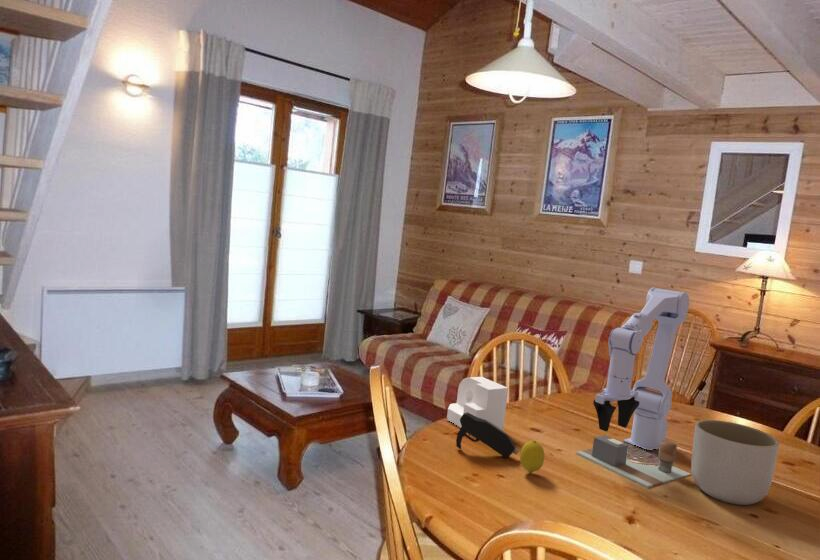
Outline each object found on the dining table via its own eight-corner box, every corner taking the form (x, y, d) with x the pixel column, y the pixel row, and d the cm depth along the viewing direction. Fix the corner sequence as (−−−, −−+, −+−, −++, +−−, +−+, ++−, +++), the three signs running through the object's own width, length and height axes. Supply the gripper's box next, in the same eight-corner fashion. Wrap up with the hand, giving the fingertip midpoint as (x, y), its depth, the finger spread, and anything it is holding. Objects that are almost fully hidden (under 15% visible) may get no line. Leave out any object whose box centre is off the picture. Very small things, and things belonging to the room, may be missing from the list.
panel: (619, 445, 164) (619, 443, 164) (690, 476, 146) (690, 473, 146) (576, 454, 153) (576, 451, 153) (647, 488, 136) (647, 486, 136)
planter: (768, 521, 125) (779, 453, 124) (681, 495, 134) (691, 431, 133) (769, 494, 140) (779, 433, 138) (690, 472, 149) (699, 414, 147)
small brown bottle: (662, 466, 149) (666, 439, 149) (675, 472, 146) (680, 445, 146) (653, 468, 147) (657, 441, 147) (667, 474, 144) (671, 447, 143)
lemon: (543, 471, 140) (547, 439, 139) (540, 480, 135) (544, 446, 134) (520, 466, 142) (524, 434, 141) (516, 474, 137) (520, 441, 136)
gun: (500, 478, 146) (522, 446, 144) (446, 441, 148) (467, 409, 146) (501, 473, 149) (523, 442, 147) (447, 437, 151) (468, 405, 149)
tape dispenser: (502, 431, 166) (508, 387, 164) (473, 435, 160) (479, 390, 159) (467, 412, 179) (472, 372, 178) (439, 416, 173) (444, 374, 172)
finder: (602, 453, 154) (605, 433, 154) (625, 464, 148) (628, 443, 148) (591, 456, 151) (594, 435, 151) (614, 466, 146) (617, 445, 145)
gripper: (624, 370, 155) (617, 419, 156) (588, 373, 147) (581, 426, 148) (648, 377, 149) (640, 428, 151) (612, 381, 141) (604, 436, 143)
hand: (612, 428), depth 149 cm, fingers open, 7 cm apart
